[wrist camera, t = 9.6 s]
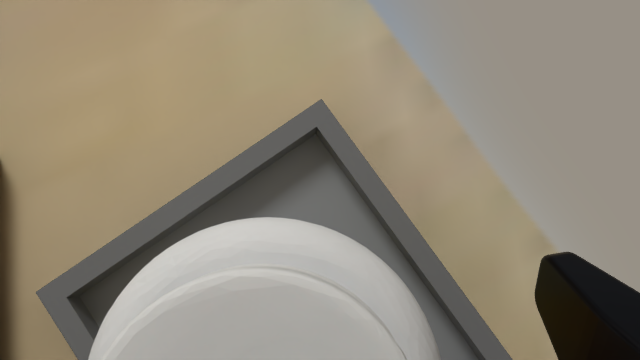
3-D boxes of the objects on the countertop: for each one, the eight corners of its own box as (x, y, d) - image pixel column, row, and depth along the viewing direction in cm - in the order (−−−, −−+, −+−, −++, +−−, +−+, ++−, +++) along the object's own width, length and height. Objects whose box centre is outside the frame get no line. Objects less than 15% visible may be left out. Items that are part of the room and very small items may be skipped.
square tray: (507, 367, 16) (523, 375, 15) (238, 579, 15) (233, 605, 14) (320, 110, 18) (321, 98, 16) (54, 290, 16) (35, 292, 15)
